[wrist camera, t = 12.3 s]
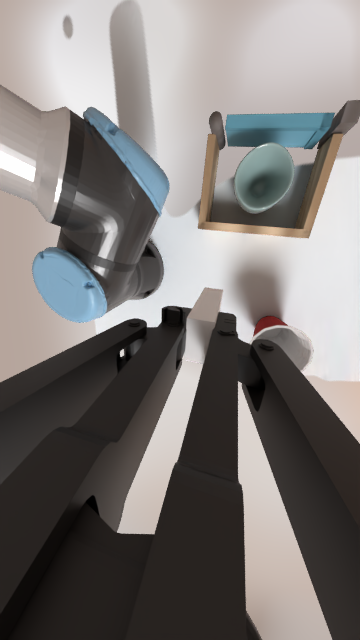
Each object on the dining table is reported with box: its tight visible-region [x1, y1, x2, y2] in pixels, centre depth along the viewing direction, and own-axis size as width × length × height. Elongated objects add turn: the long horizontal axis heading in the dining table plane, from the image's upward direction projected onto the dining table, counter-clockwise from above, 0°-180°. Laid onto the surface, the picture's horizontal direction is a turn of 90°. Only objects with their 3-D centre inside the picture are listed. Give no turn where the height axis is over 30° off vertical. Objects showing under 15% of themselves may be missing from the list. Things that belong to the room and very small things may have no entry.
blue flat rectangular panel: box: [225, 113, 335, 149], centre depth 29 cm, size 14×1×7 cm, turn 85°
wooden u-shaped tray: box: [198, 100, 360, 238], centre depth 32 cm, size 19×15×8 cm
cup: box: [234, 142, 294, 214], centre depth 31 cm, size 8×8×10 cm
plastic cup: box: [249, 316, 314, 372], centre depth 40 cm, size 11×11×12 cm
